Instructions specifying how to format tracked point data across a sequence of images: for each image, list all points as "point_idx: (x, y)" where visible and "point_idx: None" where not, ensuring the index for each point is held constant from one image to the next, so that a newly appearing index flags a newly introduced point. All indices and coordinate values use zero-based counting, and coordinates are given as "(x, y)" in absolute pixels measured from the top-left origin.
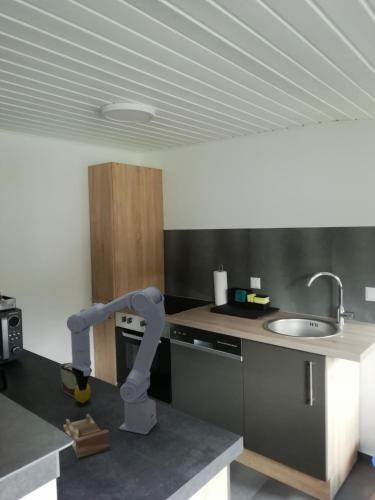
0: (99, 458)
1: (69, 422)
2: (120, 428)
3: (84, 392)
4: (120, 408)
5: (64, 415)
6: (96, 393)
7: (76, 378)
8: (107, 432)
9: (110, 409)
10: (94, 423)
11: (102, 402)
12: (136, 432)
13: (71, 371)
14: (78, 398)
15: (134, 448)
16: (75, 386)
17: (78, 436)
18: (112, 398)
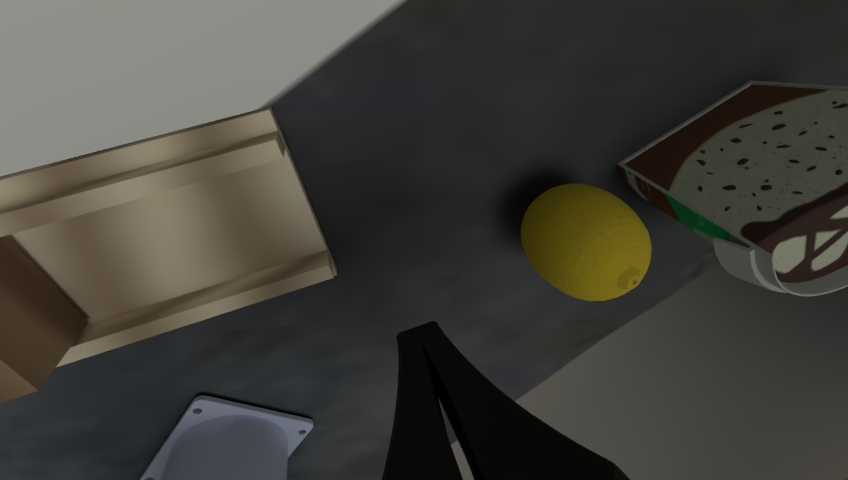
0: None
1: (223, 169)
2: (192, 404)
3: (542, 265)
4: None
5: (437, 106)
6: None
7: (463, 421)
8: None
9: None
10: (19, 388)
11: (500, 297)
12: (155, 456)
13: (830, 205)
14: (536, 209)
15: (5, 464)
16: (672, 194)
17: (87, 223)
18: (518, 332)
